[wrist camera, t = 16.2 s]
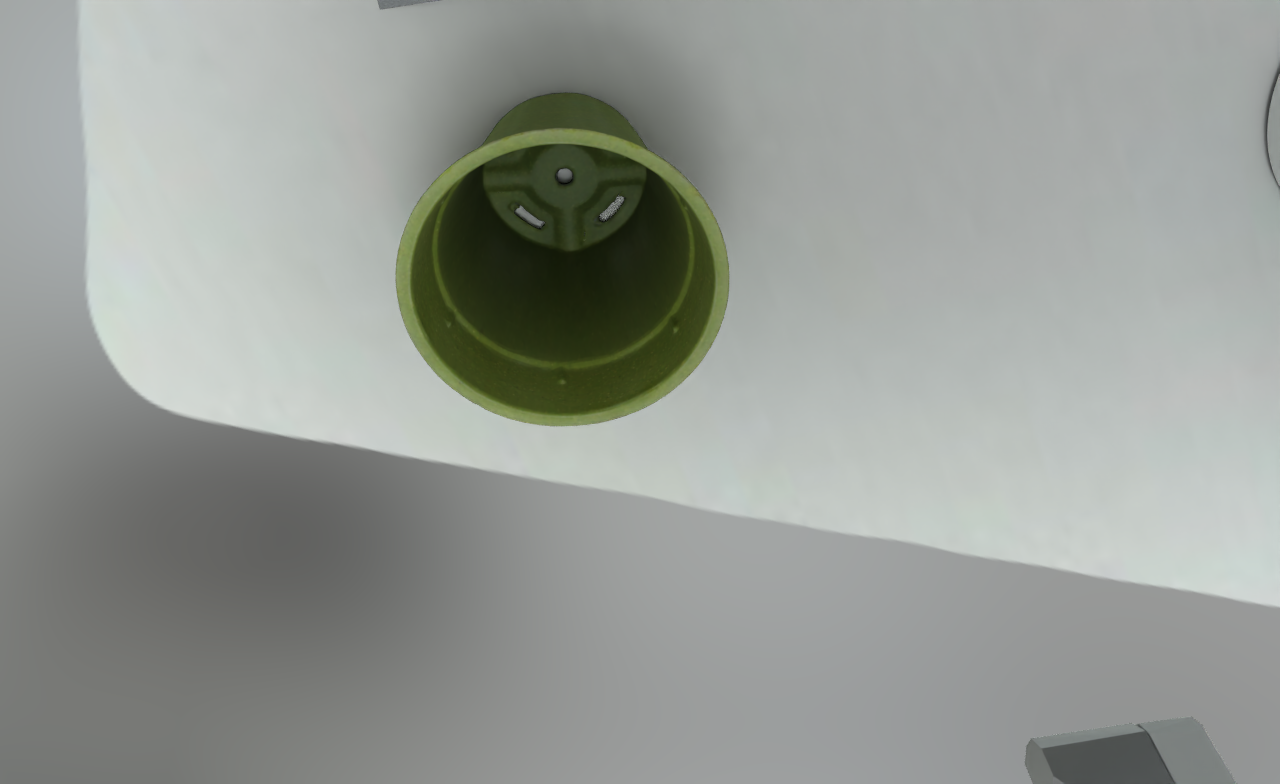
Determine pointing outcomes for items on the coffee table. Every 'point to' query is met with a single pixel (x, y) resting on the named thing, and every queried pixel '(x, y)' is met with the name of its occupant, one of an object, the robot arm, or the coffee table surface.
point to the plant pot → (562, 269)
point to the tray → (399, 3)
